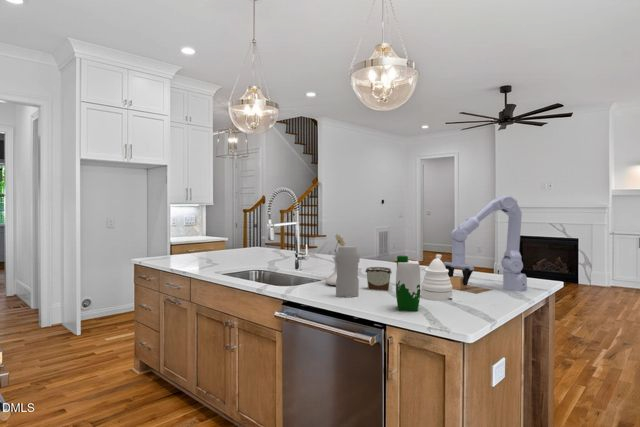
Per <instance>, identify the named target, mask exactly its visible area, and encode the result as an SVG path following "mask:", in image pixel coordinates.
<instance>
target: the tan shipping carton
mask: <svg viewBox="0 0 640 427" xmlns="http://www.w3.org/2000/svg"><path fill="white" fill-rule="evenodd" d="M450 281H451V284H452V288H454V289H465V288H467V285H468V284H467V285H464V284H463V275H453V276H451V277H450ZM454 289H453V290H454Z"/></svg>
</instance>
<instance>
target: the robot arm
mask: <svg viewBox="0 0 640 427" xmlns="http://www.w3.org/2000/svg"><path fill="white" fill-rule="evenodd" d="M497 211H502V212H503V213H504V214H505V215H507V217H508V220H507V221H508V222H507V234H506V235H507V236H506V250H505V252H504V253H503V258H502V259H501V267H502V268H503V271H502V289H503V290H506V291H515V292H518V293H519V292H520V293H521V292H524V291H525V292H526V291H528V290H527V288H528V287H527V286H528V278H527V275H526V274H525V273H522V272H521V271H522V270H523V268H524V263H523V261H522V255H521V252H520V243H521V231H522V230H521V229H522V215H523V212H522V210H521V208H520V206H519V204H518V200H517V199H515V198H514V197H513V196H512V195H498V196H496V197H495V198H493V199H492V200H491V201H489V202H488V204H486V205H485V206H484V207H483V208H482V209H481V210H480V211H479V212H477V214H476V215H475V216H469V217H466V218H465V219H464V220H465V221H463V222H462V223H461V224H460V225H459V224H458V225H457V226H456V227H457V228H454V229H453V230H452V231H451V233H450V238H451V239H452V242H451V243H452V244H451V262H449V261H444V262H443V264H444V266H445V268H446V269H448V270H449V272H448V275H449V277H451V276H454V272H455V270H456V269H461V273H462V277H463V284H464V285H469V280H470V278H471V275H472V274H473V272H474V269H475V266H474V265H471V264H469V263H467V264H466V240H467V238H468V236H469V235H471V234H472V233H473V232H474V231H475V230H476V229H478V227H479V226H480V222H482V221H483V220H484V219H486V218H487V217H488V216H489V215H491V214H492V213H493V212H497ZM455 268H456V269H455Z"/></svg>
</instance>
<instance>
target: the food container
mask: <svg viewBox="0 0 640 427" xmlns="http://www.w3.org/2000/svg"><path fill="white" fill-rule="evenodd" d="M364 273H366V280H367V290H370V291H381V292H389V290H390V281H391V275H392V274H393V271H392V269H391V267H390V268H389V267H384V266H370V267H366V268H365V272H364Z"/></svg>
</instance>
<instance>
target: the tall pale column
mask: <svg viewBox="0 0 640 427" xmlns="http://www.w3.org/2000/svg"><path fill="white" fill-rule="evenodd" d="M337 249H338V250H337V251H336V252H337V253H336V252H335V255H334V256H335V261H336V263H337V279H336V285H335V297H337V298H358V297H359V293H360V292H359V289H360V288H359V285H360V284H359V281H360V280H359V277H358V275H359V263H360V261H361V260H360V257H361V255H360V253H359V252H358V248H357V246H352V245H345V246H338V248H337Z"/></svg>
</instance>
